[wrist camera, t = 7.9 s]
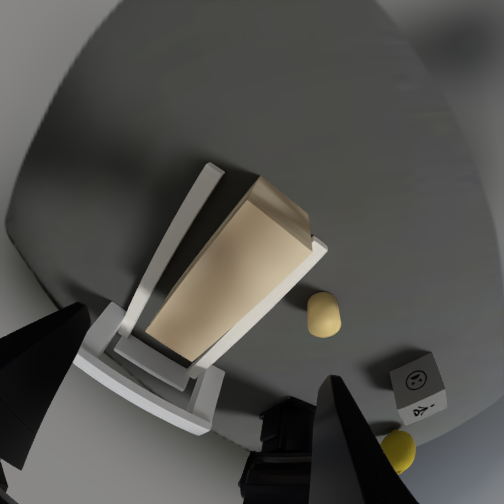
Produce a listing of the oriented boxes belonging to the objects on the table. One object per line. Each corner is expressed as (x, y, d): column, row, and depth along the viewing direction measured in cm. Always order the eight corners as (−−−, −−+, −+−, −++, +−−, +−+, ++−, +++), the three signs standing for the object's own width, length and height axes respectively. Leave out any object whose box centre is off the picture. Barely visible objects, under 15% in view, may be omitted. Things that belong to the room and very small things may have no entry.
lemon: (370, 436, 32) (373, 480, 25) (392, 420, 29) (398, 468, 22) (395, 437, 32) (400, 478, 25) (418, 421, 29) (426, 465, 22)
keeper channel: (368, 278, 19) (393, 350, 13) (226, 393, 29) (212, 447, 22) (185, 145, 17) (123, 167, 10) (104, 320, 26) (70, 367, 20)
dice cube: (388, 371, 24) (397, 410, 20) (431, 351, 22) (445, 388, 18) (398, 390, 26) (405, 425, 21) (436, 373, 24) (447, 407, 19)
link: (307, 213, 18) (312, 252, 13) (210, 314, 23) (191, 361, 18) (260, 175, 17) (246, 199, 12) (172, 287, 22) (145, 331, 18)
